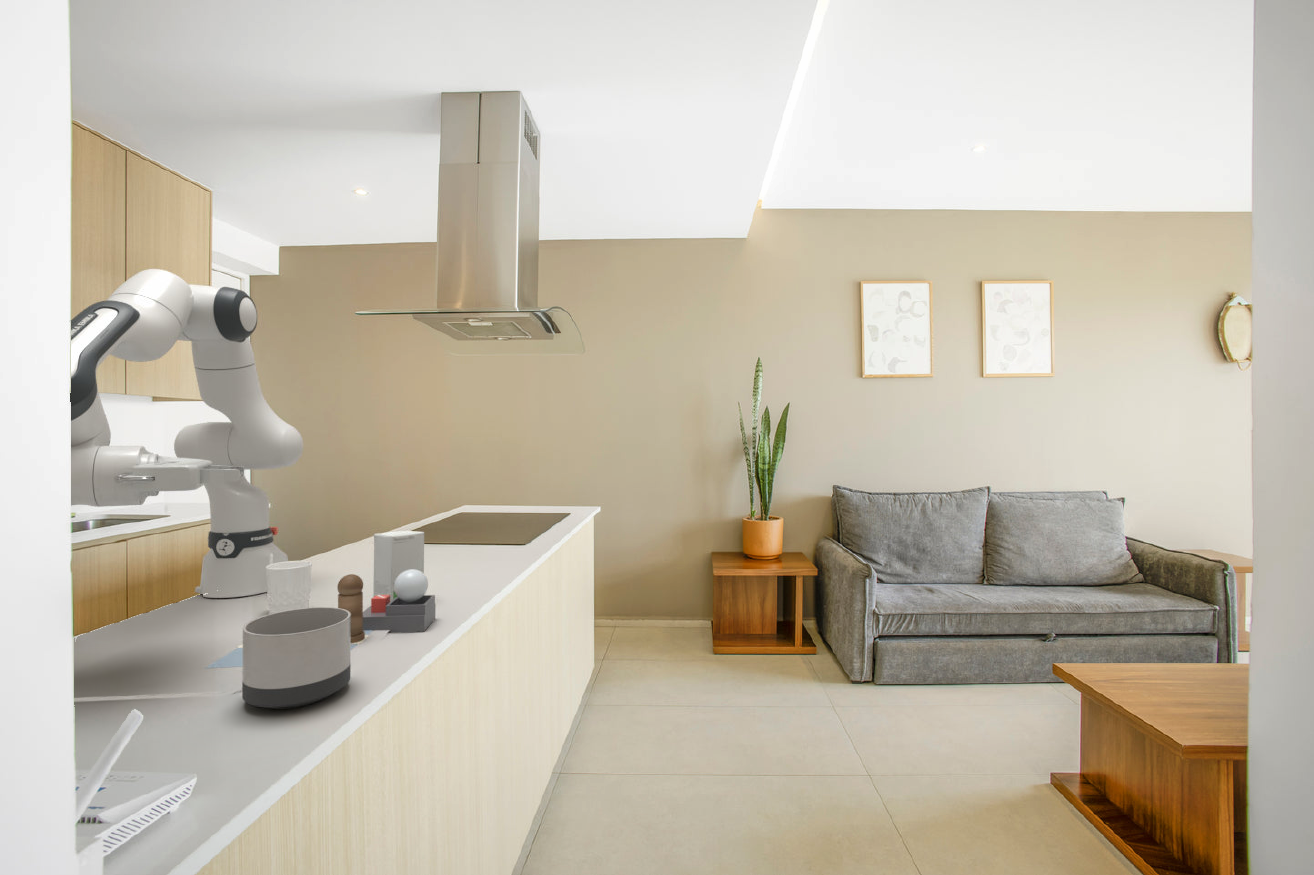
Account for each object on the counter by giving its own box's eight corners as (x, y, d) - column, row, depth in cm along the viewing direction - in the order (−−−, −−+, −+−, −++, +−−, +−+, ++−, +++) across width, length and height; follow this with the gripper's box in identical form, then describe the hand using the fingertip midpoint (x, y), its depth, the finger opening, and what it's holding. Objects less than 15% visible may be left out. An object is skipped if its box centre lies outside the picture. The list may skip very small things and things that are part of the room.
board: (260, 636, 106) (260, 633, 106) (374, 633, 109) (374, 629, 109) (202, 672, 90) (202, 667, 90) (338, 667, 93) (338, 663, 93)
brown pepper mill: (342, 635, 105) (342, 572, 105) (368, 634, 106) (368, 571, 106) (331, 644, 101) (331, 577, 101) (359, 643, 101) (358, 577, 101)
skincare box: (390, 613, 121) (390, 536, 121) (370, 608, 125) (371, 533, 125) (425, 603, 128) (426, 531, 128) (406, 599, 132) (406, 528, 132)
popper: (371, 620, 116) (371, 591, 116) (435, 618, 118) (435, 589, 118) (355, 633, 108) (356, 602, 108) (424, 631, 110) (424, 600, 110)
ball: (399, 597, 116) (399, 566, 116) (431, 596, 117) (431, 566, 117) (389, 606, 110) (389, 573, 110) (423, 605, 111) (423, 572, 111)
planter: (363, 696, 83) (363, 620, 83) (253, 727, 74) (253, 642, 74) (334, 670, 92) (335, 602, 92) (233, 694, 83) (234, 619, 83)
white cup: (320, 609, 124) (320, 561, 124) (293, 620, 116) (293, 569, 116) (284, 607, 124) (285, 560, 124) (255, 619, 117) (256, 568, 117)
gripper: (110, 456, 79) (237, 455, 86) (142, 452, 96) (246, 452, 104) (109, 503, 79) (236, 498, 86) (142, 491, 96) (245, 488, 104)
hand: (242, 473), depth 95 cm, fingers open, 8 cm apart
